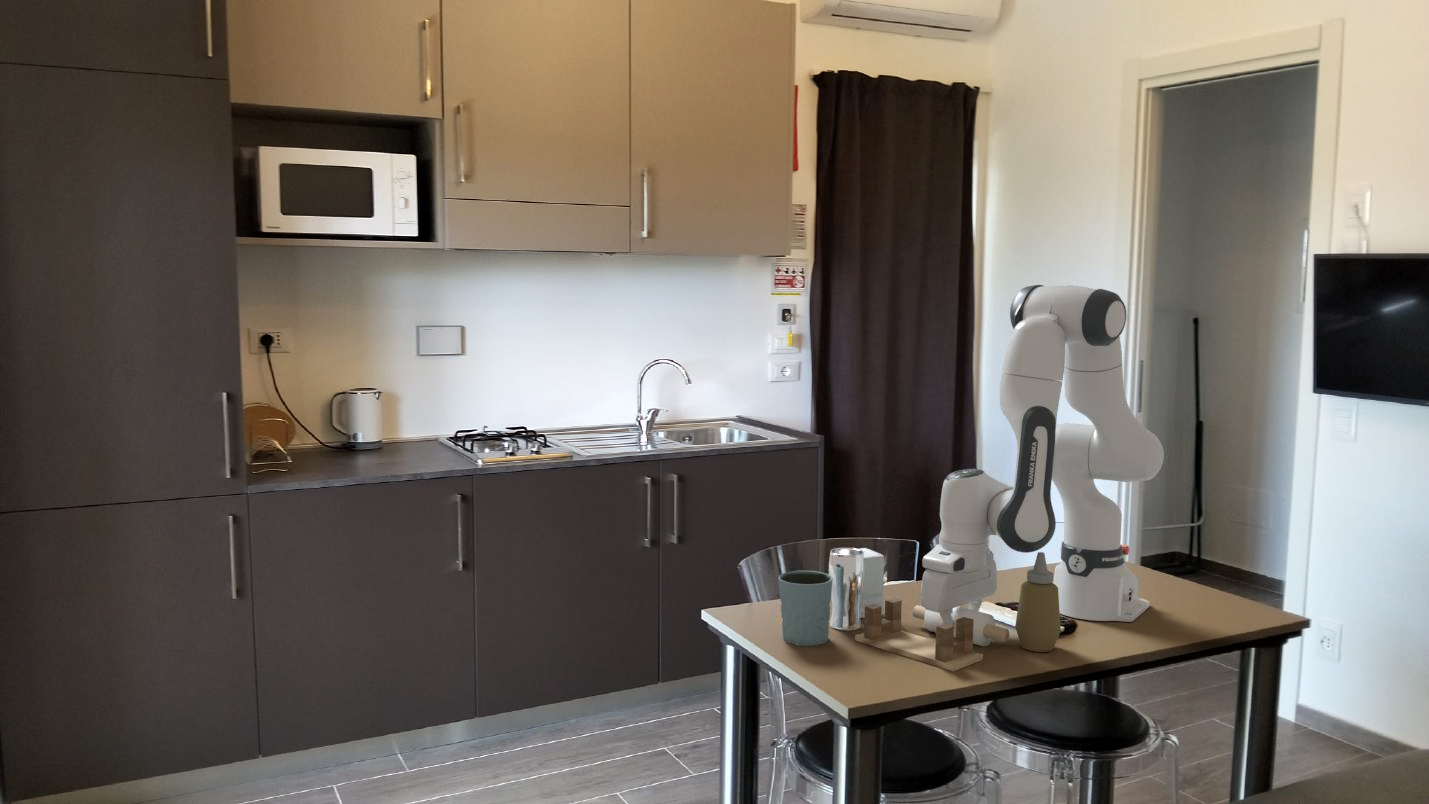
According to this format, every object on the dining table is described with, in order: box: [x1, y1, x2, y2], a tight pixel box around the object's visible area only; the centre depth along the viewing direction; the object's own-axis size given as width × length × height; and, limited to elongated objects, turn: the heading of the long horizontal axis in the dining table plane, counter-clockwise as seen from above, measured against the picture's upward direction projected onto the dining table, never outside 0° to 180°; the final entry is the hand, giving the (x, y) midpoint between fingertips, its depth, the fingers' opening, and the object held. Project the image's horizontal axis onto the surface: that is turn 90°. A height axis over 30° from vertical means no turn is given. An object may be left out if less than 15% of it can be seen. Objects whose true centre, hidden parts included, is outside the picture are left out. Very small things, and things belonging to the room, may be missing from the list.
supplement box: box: [858, 547, 885, 619], centre depth 216 cm, size 7×7×13 cm
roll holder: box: [854, 597, 983, 672], centre depth 194 cm, size 22×9×7 cm, turn 43°
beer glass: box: [828, 547, 864, 632], centre depth 207 cm, size 7×7×15 cm
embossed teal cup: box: [777, 570, 833, 647], centre depth 199 cm, size 10×10×12 cm
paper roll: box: [912, 604, 1010, 647], centre depth 201 cm, size 20×6×6 cm, turn 43°
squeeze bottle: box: [1015, 551, 1062, 653], centre depth 195 cm, size 8×8×18 cm
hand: (959, 625), depth 201 cm, fingers closed on paper roll, 6 cm apart
